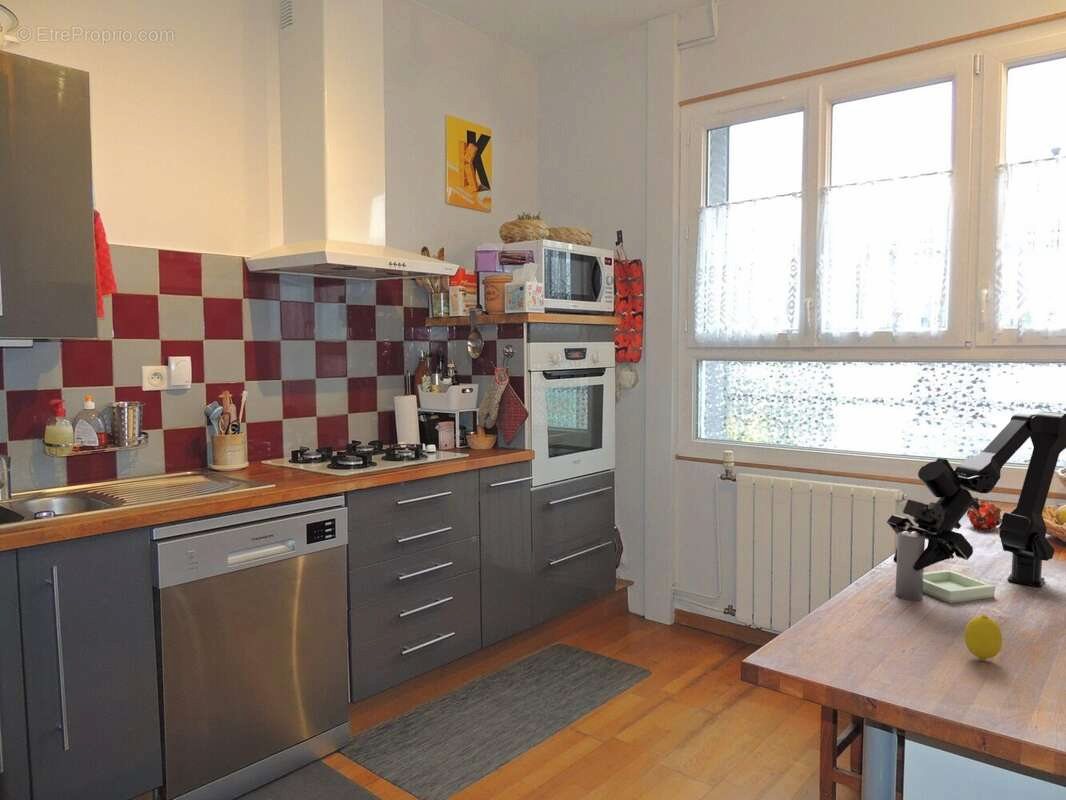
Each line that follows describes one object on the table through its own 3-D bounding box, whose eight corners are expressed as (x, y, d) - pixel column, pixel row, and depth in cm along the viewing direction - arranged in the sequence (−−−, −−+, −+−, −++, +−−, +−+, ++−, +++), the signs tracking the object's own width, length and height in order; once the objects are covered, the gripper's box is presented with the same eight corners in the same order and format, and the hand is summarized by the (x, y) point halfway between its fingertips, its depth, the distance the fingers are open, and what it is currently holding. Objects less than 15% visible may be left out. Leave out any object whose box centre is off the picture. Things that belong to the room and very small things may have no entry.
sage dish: (948, 580, 173) (948, 569, 172) (994, 597, 161) (995, 586, 161) (906, 585, 169) (906, 574, 169) (950, 603, 158) (950, 591, 157)
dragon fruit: (990, 529, 225) (982, 543, 216) (964, 510, 228) (955, 523, 219) (1010, 510, 220) (1003, 523, 211) (984, 490, 224) (975, 503, 215)
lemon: (1006, 668, 127) (1009, 622, 126) (970, 665, 128) (972, 619, 127) (993, 655, 132) (995, 610, 131) (959, 652, 133) (961, 608, 132)
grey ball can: (898, 590, 166) (901, 527, 164) (924, 595, 162) (927, 531, 161) (892, 596, 162) (895, 532, 160) (919, 602, 158) (921, 536, 157)
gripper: (895, 479, 170) (853, 530, 168) (964, 495, 152) (918, 553, 150) (921, 511, 173) (880, 562, 171) (993, 530, 155) (948, 588, 153)
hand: (904, 565), depth 161 cm, fingers closed on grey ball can, 5 cm apart
